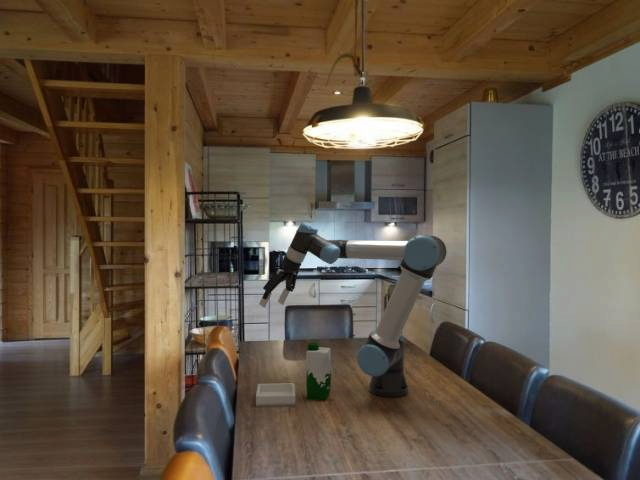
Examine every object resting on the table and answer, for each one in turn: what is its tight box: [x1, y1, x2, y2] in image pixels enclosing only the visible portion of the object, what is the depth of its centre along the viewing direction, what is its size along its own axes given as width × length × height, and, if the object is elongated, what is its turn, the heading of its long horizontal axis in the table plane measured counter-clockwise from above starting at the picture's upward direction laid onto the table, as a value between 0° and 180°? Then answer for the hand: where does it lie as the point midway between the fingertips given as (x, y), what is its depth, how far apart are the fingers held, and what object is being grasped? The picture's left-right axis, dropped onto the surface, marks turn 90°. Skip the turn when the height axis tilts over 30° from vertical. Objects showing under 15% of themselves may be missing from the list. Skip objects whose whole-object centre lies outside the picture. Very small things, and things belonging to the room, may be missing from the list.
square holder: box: [255, 382, 296, 407], centre depth 171 cm, size 14×14×4 cm
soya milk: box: [305, 342, 332, 402], centre depth 174 cm, size 9×9×20 cm
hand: (271, 304), depth 188 cm, fingers open, 13 cm apart
